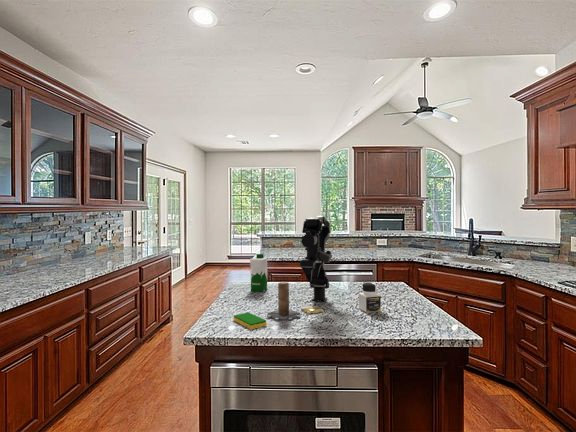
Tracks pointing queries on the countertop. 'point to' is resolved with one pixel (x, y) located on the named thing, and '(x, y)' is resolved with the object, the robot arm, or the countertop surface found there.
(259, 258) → the milk carton
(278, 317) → the steel gear disc
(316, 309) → the brass gear disc
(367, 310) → the medicine bottle
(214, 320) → the countertop surface
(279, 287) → the walnut axle
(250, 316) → the dish sponge
